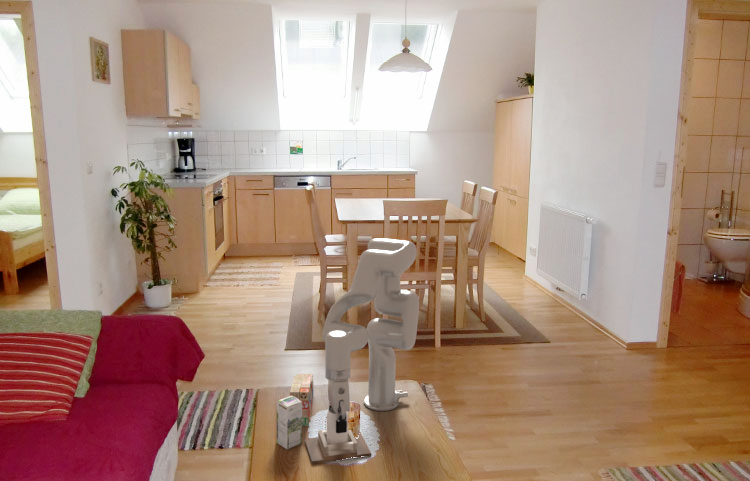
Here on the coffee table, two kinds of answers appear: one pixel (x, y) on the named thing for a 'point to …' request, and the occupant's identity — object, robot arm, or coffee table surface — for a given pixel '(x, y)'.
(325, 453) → the collar board
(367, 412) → the coffee table surface
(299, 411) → the syrup box
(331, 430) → the can
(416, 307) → the robot arm
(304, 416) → the stack of blocks
